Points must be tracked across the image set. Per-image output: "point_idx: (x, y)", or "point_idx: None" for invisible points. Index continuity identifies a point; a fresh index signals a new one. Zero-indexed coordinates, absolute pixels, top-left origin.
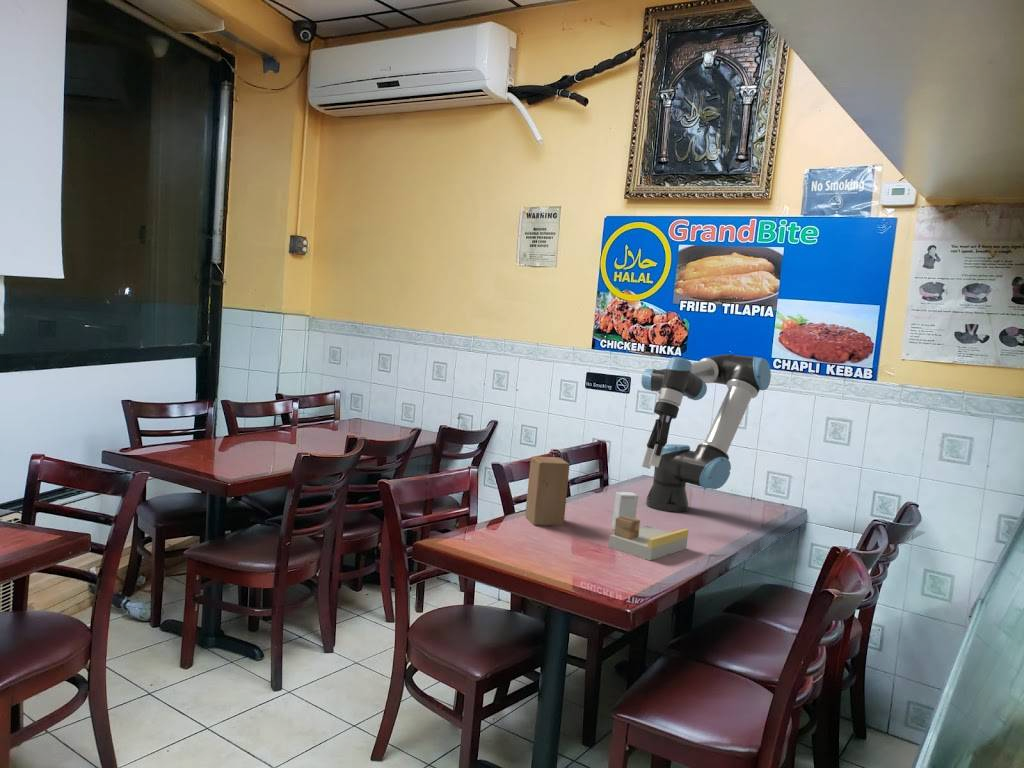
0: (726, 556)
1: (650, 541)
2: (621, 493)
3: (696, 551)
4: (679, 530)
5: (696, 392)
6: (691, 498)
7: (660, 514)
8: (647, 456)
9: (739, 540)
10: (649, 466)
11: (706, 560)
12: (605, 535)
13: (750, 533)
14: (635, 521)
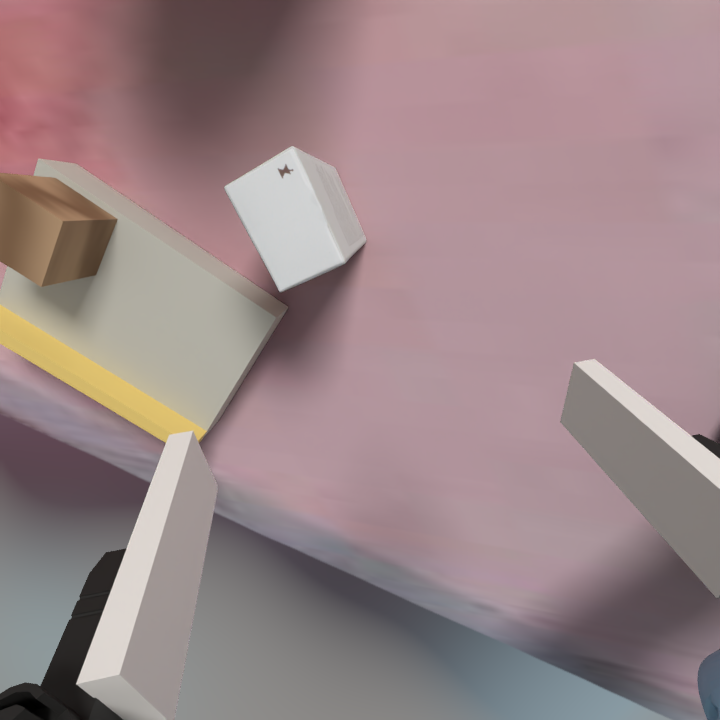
0: (214, 511)
1: None
2: (266, 187)
3: (213, 445)
4: (155, 425)
5: None
6: None
7: (668, 385)
8: (649, 456)
9: (397, 572)
10: (573, 427)
11: (144, 457)
12: (220, 143)
13: (493, 615)
14: (7, 265)
